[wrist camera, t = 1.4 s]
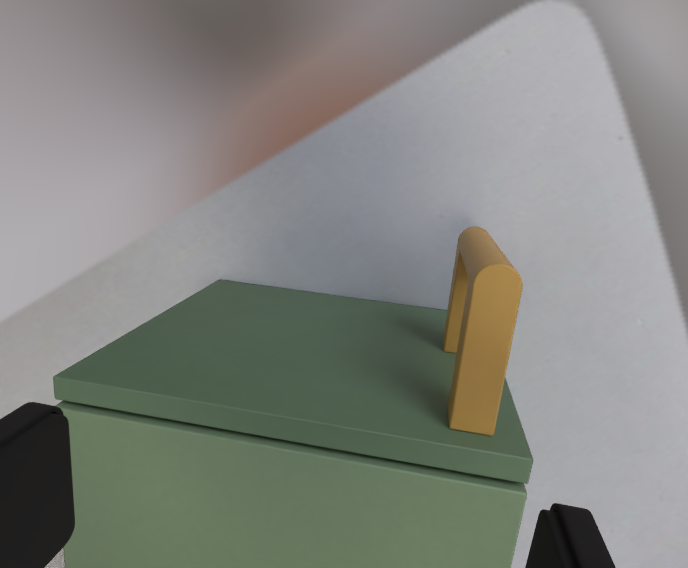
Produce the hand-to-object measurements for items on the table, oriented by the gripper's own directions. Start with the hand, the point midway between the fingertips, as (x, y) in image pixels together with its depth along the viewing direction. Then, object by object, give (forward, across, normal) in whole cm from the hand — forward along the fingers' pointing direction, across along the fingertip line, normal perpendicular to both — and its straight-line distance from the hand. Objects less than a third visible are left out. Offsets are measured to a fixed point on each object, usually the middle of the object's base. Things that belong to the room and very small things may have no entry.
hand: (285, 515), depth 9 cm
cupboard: (+23, +2, +10) cm, 26 cm away
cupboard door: (+23, +2, 0) cm, 23 cm away
